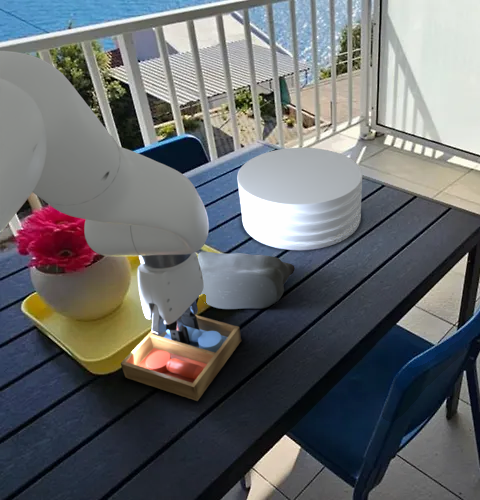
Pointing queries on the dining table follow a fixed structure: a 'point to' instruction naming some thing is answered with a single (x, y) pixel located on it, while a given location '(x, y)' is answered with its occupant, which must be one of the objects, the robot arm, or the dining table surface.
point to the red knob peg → (172, 365)
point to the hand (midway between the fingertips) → (186, 336)
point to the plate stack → (300, 198)
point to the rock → (243, 279)
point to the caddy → (190, 353)
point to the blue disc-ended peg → (204, 339)
